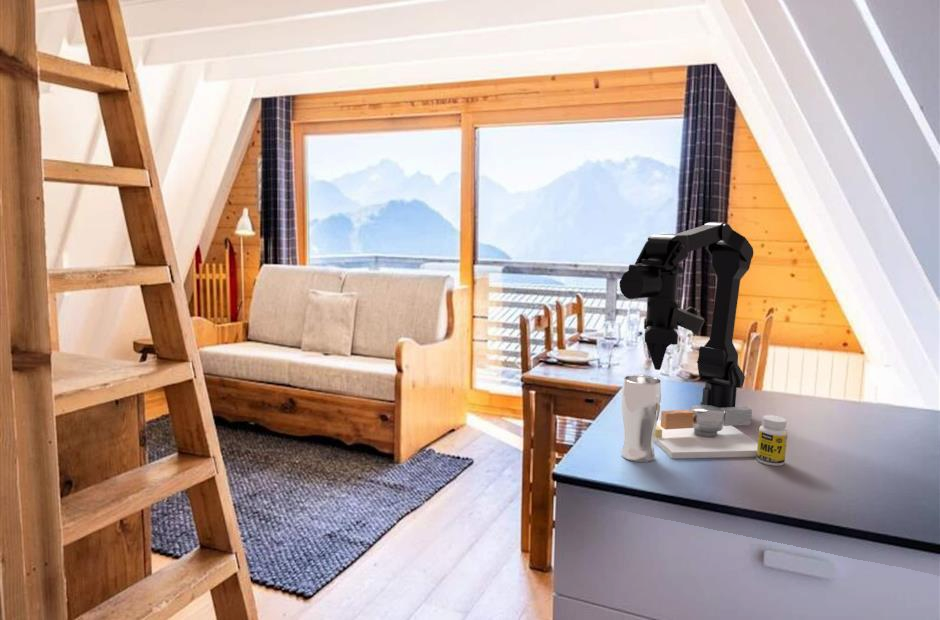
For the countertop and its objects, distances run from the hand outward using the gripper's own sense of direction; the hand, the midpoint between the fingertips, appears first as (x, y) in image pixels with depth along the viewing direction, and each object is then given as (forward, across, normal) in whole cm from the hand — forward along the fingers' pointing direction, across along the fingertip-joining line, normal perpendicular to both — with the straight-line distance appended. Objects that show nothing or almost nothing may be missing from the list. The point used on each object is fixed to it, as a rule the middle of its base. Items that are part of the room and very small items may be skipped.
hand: (657, 369), depth 134 cm
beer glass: (+13, -17, +3) cm, 22 cm away
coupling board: (+13, -4, -8) cm, 16 cm away
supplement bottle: (+13, -13, -21) cm, 28 cm away
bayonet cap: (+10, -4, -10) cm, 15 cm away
